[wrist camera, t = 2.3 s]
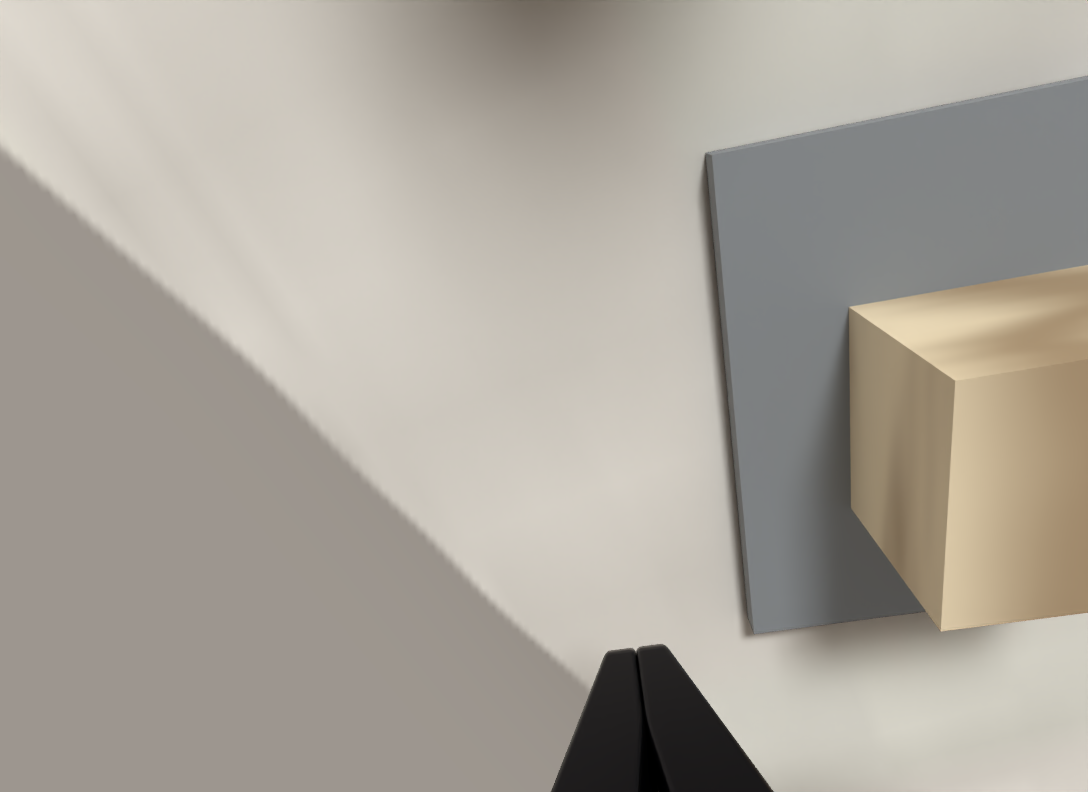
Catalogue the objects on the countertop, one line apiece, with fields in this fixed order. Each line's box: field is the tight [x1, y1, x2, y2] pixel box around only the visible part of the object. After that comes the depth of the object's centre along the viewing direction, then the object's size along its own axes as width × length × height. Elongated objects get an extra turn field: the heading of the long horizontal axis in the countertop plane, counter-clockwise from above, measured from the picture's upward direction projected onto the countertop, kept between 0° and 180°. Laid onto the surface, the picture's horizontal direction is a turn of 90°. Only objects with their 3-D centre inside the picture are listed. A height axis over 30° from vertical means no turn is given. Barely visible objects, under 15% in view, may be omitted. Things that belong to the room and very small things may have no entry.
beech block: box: [849, 265, 1088, 631], centre depth 13 cm, size 5×5×4 cm
